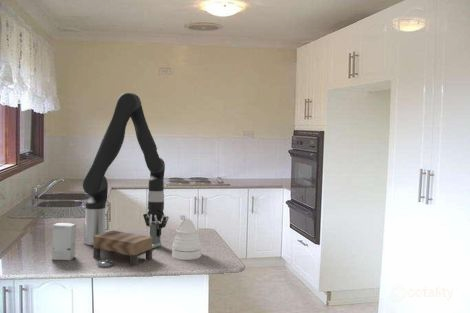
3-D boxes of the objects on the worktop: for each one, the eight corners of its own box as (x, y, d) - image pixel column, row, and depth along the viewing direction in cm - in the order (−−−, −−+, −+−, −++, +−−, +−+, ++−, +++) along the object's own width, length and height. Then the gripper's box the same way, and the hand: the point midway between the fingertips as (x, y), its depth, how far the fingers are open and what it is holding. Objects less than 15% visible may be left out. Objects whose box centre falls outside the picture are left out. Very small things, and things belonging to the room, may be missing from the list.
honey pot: (174, 260, 199) (175, 219, 198) (170, 252, 212) (170, 213, 210) (203, 258, 203) (204, 218, 202) (197, 250, 215) (198, 212, 214)
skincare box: (51, 260, 195) (51, 225, 194) (57, 255, 202) (56, 222, 200) (71, 260, 195) (71, 225, 194) (76, 256, 201) (76, 222, 200)
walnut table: (93, 257, 200) (93, 236, 199) (112, 251, 211) (112, 230, 210) (134, 266, 190) (134, 243, 190) (152, 258, 201) (152, 237, 200)
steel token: (94, 266, 189) (94, 262, 189) (104, 262, 195) (104, 258, 195) (105, 268, 187) (106, 265, 187) (115, 264, 192) (115, 261, 192)
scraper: (154, 243, 224) (154, 222, 223) (161, 244, 222) (161, 223, 221) (125, 254, 206) (125, 232, 205) (132, 256, 204) (132, 233, 203)
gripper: (139, 199, 219) (138, 235, 221) (163, 202, 213) (162, 239, 214) (149, 197, 226) (148, 232, 227) (172, 200, 219) (172, 236, 221)
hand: (155, 235), depth 221 cm, fingers closed on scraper, 3 cm apart
